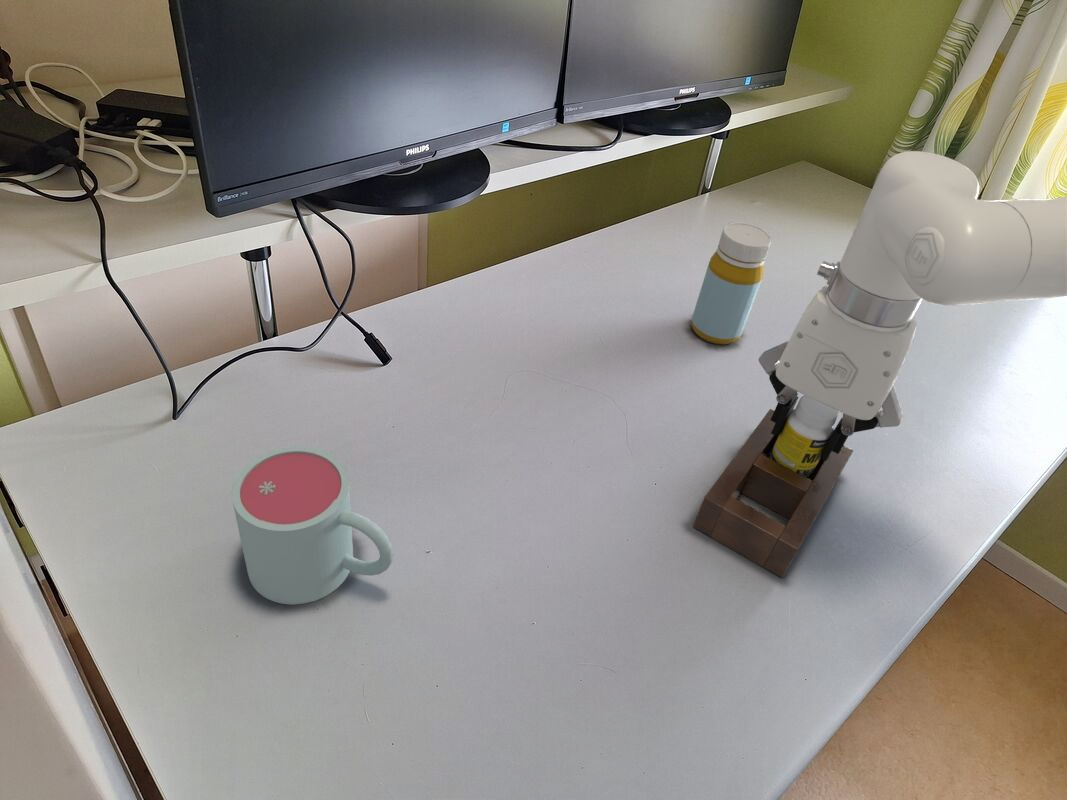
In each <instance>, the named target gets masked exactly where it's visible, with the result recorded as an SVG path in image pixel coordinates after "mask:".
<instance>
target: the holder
mask: <svg viewBox="0 0 1067 800" xmlns="http://www.w3.org/2000/svg"><path fill="white" fill-rule="evenodd" d="M774 411H775V409H772V408H770V409H769V410H768V412H766V414H765V415H764V416H763V418H762V419H761V420H760V422H759V423H758V424H757V426H756V427H755V428H754V430H753V431H752V433H751V434H750V436H748V438H747V439H746V440H745V442H744V443H743V445H742V446H741V448H740V449H739V450H738V451H737V453H736V454H735V456H734V457H733V458H732V460H731V461H730V462H729V463H728V465H727V466H726V467H725V469H724V470H723V471H722V472H721V474H720V475H719V476H718V478H717V480H716V481H715V482H714V484H713V485H712V486H711V488H710V489H709V490H708V491H707V493H706V494H705V496H704V498H703V500H702V502H701V504H700V507H699V509H698V512H697V515H696V517H695V520H694V522H693V525H692V527H693V528H694V529H697V530H698V531H700V532H701V533H704V534H705V535H707V536H709V537H710V538H711V539H714V540H715V541H717V542H719V543H721V544H722V545H724V546H726V547H727V548H729V549H731V550H732V551H734V552H736V553H738V554H739V555H741V556H743V557H745V558H747V559H748V560H750V561H752V562H753V563H755V564H757V565H758V566H760V567H762V568H764V569H766V570H767V571H769V572H771V573H773V574H774V575H776V576H778V577H780V578H784V576H785V575H786V573H787V571H788V569H789V567H790V566H791V564H792V562H793V560H794V558H795V557H796V555H797V553H798V551H799V550H800V548H801V546H802V544H803V542H804V540H805V539H806V537H807V535H808V533H809V531H810V529H811V528H812V526H813V524H814V523H815V521H816V519H817V517H818V516H819V513H820V512H821V510H822V508H823V506H824V505H825V503H826V502H827V499H828V497H829V496H830V494H831V492H832V490H833V488H834V486H835V485H836V483H837V481H838V479H839V477H840V475H841V474H842V473H843V470H844V469H845V467H846V465H847V463H848V461H850V458H851V456H852V454H853V453H854V449H852V448H850V447H848V446H847V445H845V444H844V445H843V447H842V449H841V451H840V452H839V454H837V453H835V452H833V451H832V452H831V454H830V456H829V457H828V459H827V461H824V460H822V458H821V457H820V459H819V461H818V463H817V465H816V467H815V469H814V471H813V472H812V474H811V475H810V476H809V477H811V478H813V480H811V479H810V478H809V477H804V476H802V475H800V474H798V473H796V472H794V471H792V470H790V469H789V468H787V467H785V466H783V465H781V464H779V463H777V462H775V461H773V460H771V459H770V457H768V455H769V456H770V454H771V452H772V449H773V447H774V445H775V443H776V441H777V439H778V437H779V435H780V433H779V435H776V436H775V435H773V434H771V432H772V430H773V428H774V425H775V423H774V422H772V421H770V420H771V417H772V415H773V413H774ZM741 494H742V495H743V496H746V497H747V498H750V499H751V500H753V501H755V502H757V503H759V504H760V505H762V506H764V507H766V508H768V509H770V510H771V511H773V512H775V513H777V514H779V515H781V516H782V517H784V518H786V519H788V522H787V523H786V525H784V524H782V523H780V522H779V521H777V520H775V519H774V518H772V517H770V516H768V515H766V514H765V513H762V512H761V511H759V510H758V509H755V508H754V507H751V506H750V505H749V504H746V503H744V502H742V501H741V500H739V499H738V497H739V496H740V495H741Z"/></svg>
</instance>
